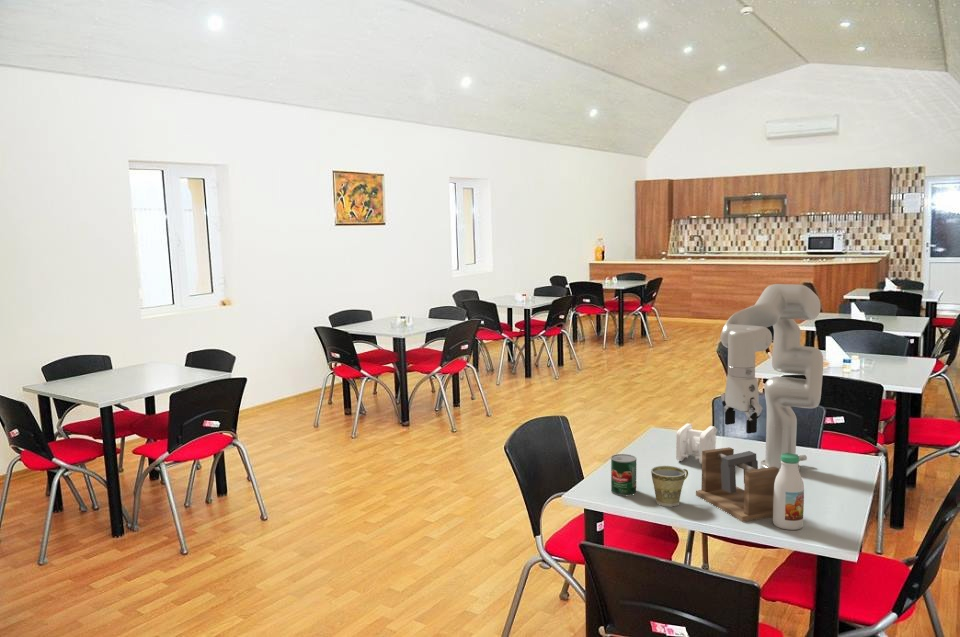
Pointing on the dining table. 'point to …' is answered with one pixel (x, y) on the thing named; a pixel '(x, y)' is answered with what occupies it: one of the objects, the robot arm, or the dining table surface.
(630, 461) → the canned tomato
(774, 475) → the wooden rod bracket
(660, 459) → the dining table surface
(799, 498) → the milk bottle
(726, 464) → the grey arch block
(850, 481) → the dining table surface
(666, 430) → the dining table surface
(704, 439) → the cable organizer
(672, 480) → the ceramic cup
